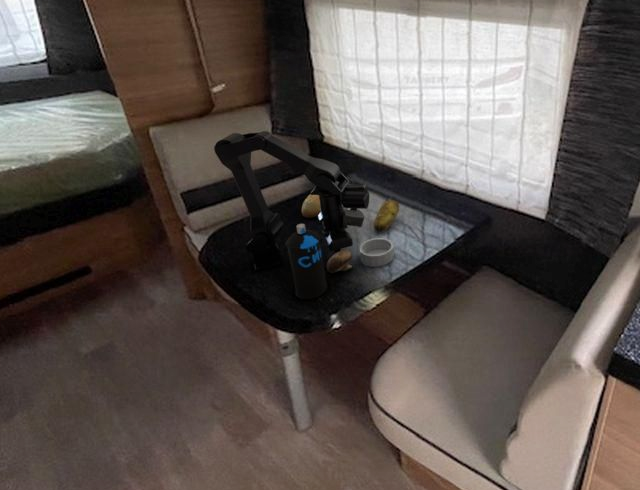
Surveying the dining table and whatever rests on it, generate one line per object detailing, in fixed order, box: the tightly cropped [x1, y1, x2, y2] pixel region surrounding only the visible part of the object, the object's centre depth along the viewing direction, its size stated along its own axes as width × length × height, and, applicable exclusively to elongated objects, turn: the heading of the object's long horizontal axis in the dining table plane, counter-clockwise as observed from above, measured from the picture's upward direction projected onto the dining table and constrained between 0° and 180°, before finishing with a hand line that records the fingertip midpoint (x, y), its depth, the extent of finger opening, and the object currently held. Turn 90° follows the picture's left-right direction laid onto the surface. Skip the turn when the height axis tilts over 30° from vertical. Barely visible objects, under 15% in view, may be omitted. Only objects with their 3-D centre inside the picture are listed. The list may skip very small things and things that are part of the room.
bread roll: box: [301, 194, 321, 219], centre depth 152 cm, size 10×15×8 cm, turn 141°
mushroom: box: [326, 250, 354, 274], centre depth 121 cm, size 8×8×6 cm
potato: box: [373, 199, 400, 233], centre depth 144 cm, size 8×13×8 cm, turn 149°
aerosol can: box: [285, 223, 328, 300], centre depth 109 cm, size 8×8×20 cm
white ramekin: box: [358, 237, 395, 268], centre depth 127 cm, size 10×10×4 cm
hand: (338, 253), depth 124 cm, fingers closed
